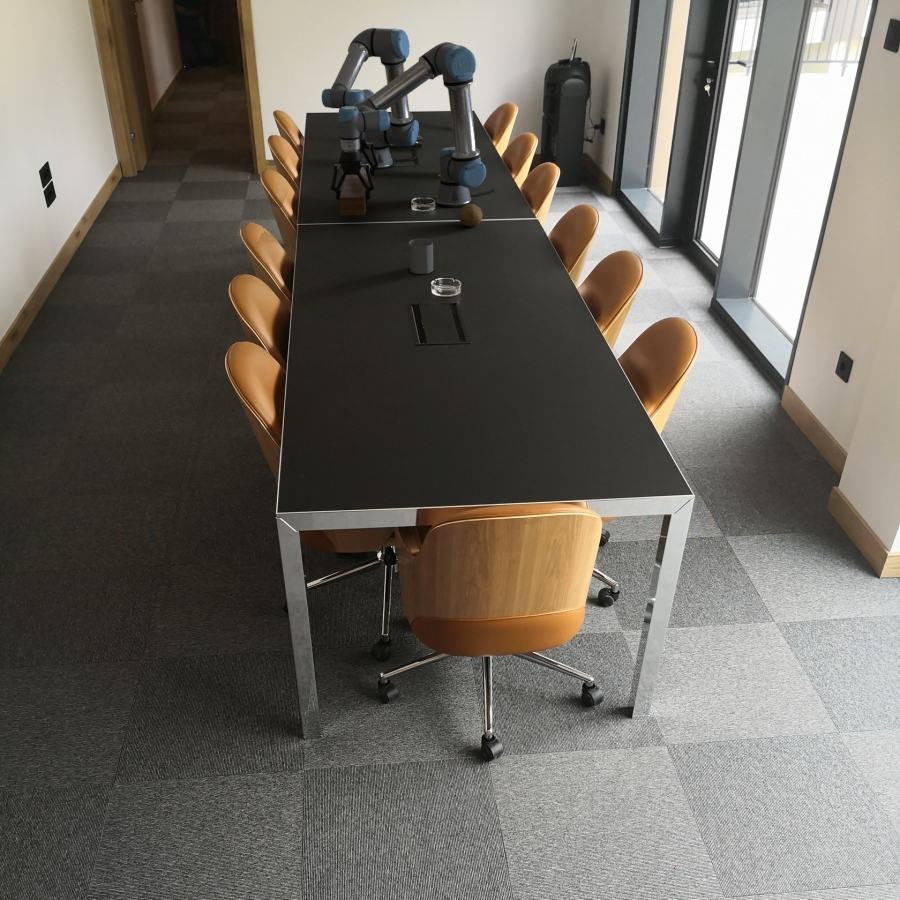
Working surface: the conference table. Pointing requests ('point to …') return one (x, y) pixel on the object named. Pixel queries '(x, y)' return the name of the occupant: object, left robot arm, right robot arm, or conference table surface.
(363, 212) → the wooden beam
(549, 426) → the conference table surface
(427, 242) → the cup
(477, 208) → the potato
